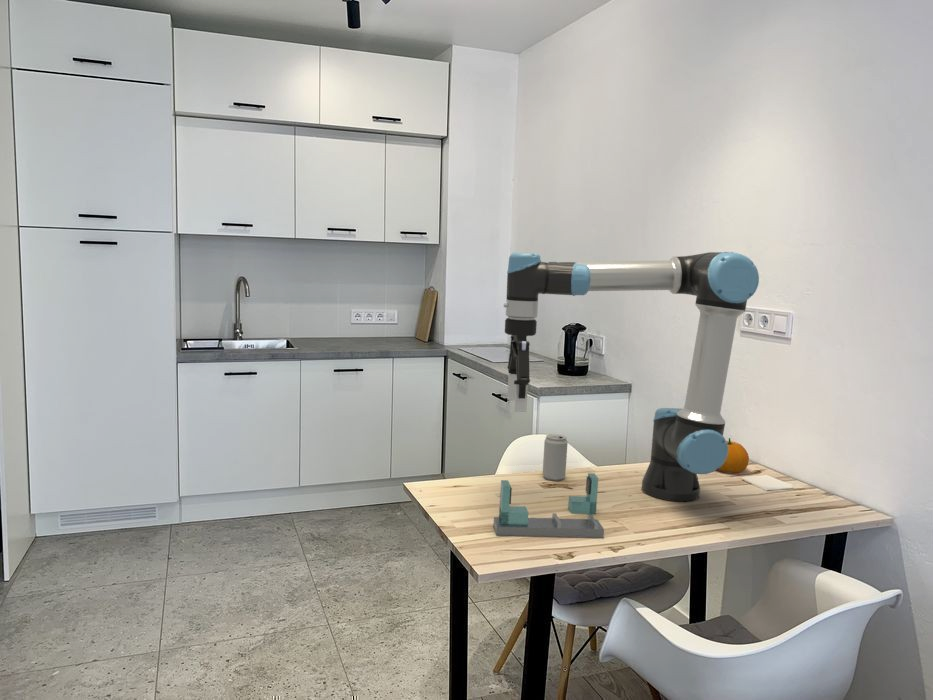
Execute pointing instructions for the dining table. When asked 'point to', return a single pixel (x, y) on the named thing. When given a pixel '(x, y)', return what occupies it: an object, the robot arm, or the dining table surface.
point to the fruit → (735, 458)
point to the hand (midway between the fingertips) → (516, 405)
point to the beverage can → (555, 457)
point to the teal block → (585, 498)
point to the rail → (540, 521)
